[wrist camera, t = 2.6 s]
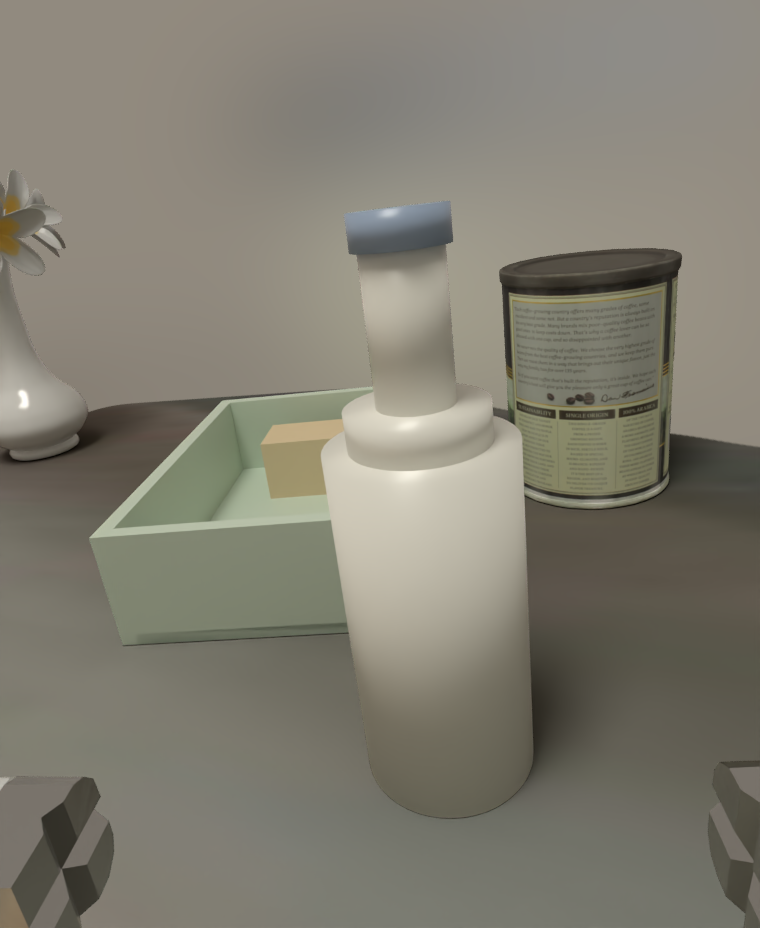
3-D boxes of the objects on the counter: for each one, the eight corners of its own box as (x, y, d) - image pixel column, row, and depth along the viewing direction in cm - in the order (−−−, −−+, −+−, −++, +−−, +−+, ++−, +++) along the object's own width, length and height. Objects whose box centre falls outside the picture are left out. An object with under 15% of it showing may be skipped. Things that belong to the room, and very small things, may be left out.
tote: (434, 456, 51) (427, 381, 49) (439, 627, 31) (429, 512, 29) (237, 472, 52) (222, 400, 50) (123, 645, 32) (89, 538, 30)
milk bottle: (521, 686, 27) (500, 193, 20) (547, 815, 21) (529, 193, 14) (374, 693, 27) (304, 216, 20) (361, 820, 22) (259, 226, 15)
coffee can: (486, 464, 48) (474, 265, 43) (614, 439, 50) (618, 245, 45) (550, 524, 39) (545, 279, 34) (705, 490, 41) (724, 252, 35)
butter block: (375, 468, 48) (368, 416, 47) (371, 490, 45) (364, 435, 43) (282, 475, 49) (273, 425, 48) (270, 498, 45) (260, 444, 44)
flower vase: (22, 493, 54) (-96, 157, 44) (-51, 456, 66) (-156, 185, 56) (162, 441, 62) (89, 150, 53) (75, 417, 74) (3, 176, 65)
